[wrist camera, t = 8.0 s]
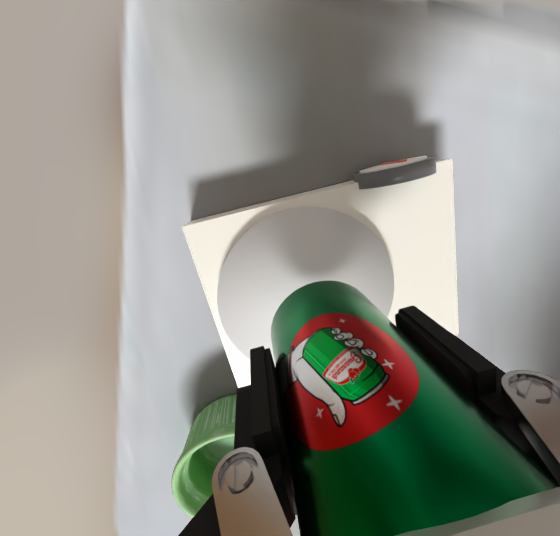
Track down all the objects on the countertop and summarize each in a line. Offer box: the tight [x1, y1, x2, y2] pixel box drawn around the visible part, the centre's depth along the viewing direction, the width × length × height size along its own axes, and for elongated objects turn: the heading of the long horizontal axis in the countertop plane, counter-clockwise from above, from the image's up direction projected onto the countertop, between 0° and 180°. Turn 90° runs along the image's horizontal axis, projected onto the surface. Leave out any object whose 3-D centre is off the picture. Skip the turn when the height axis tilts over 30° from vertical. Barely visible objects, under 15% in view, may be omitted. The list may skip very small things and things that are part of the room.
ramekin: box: [172, 394, 237, 518], centre depth 21 cm, size 9×9×4 cm
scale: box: [182, 155, 459, 388], centre depth 18 cm, size 16×13×4 cm
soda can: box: [271, 281, 559, 536], centre depth 8 cm, size 5×5×12 cm
